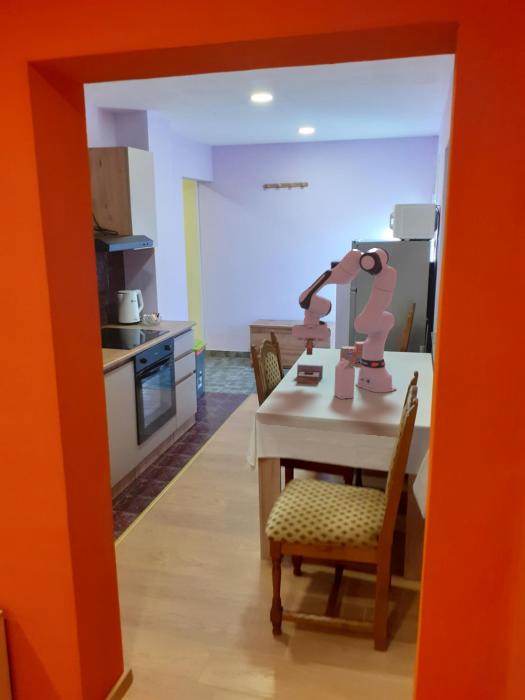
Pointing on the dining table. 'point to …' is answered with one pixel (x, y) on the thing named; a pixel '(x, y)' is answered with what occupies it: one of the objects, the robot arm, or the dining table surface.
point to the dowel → (309, 346)
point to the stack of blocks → (352, 353)
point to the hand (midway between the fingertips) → (309, 346)
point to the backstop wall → (310, 368)
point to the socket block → (308, 377)
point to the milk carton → (344, 380)
